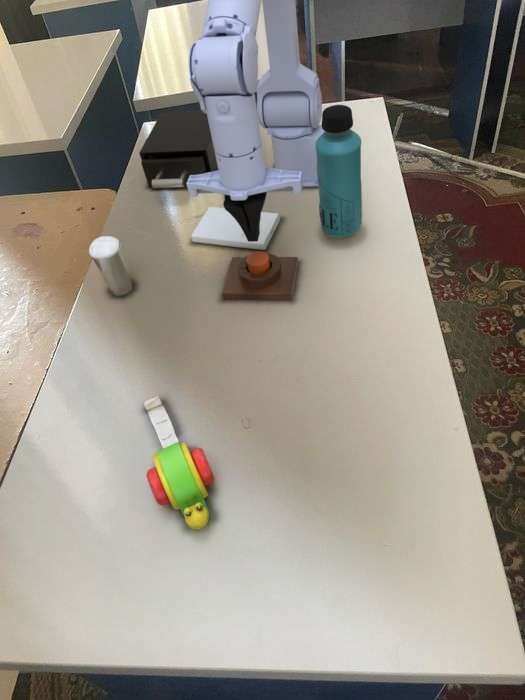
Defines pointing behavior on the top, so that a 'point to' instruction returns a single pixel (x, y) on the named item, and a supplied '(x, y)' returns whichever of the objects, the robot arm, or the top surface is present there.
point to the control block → (261, 280)
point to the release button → (258, 262)
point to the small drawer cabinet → (181, 137)
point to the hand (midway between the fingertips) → (253, 237)
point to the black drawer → (172, 169)
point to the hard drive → (232, 229)
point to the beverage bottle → (339, 173)
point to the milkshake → (111, 264)
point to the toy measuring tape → (178, 470)
